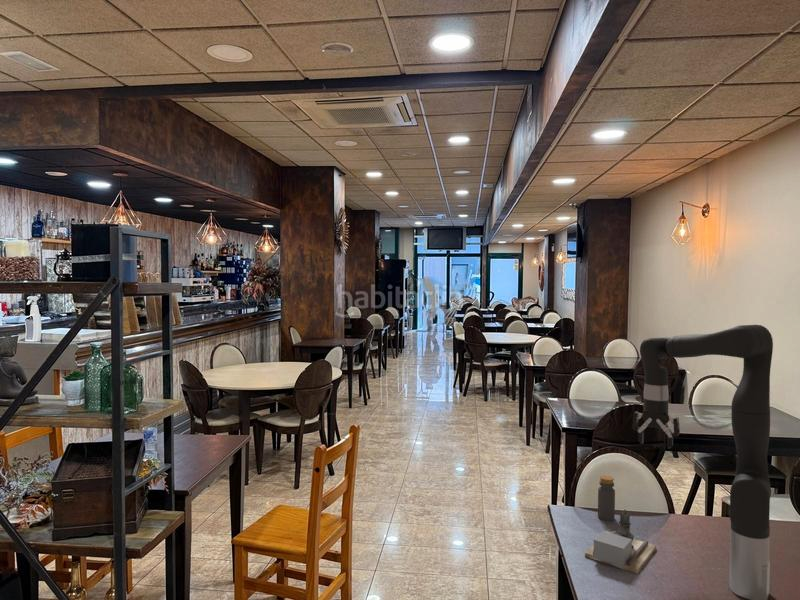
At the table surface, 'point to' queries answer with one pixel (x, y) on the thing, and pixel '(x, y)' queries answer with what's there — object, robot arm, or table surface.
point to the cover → (612, 548)
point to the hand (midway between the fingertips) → (655, 445)
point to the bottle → (606, 499)
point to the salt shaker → (625, 526)
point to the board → (639, 555)
